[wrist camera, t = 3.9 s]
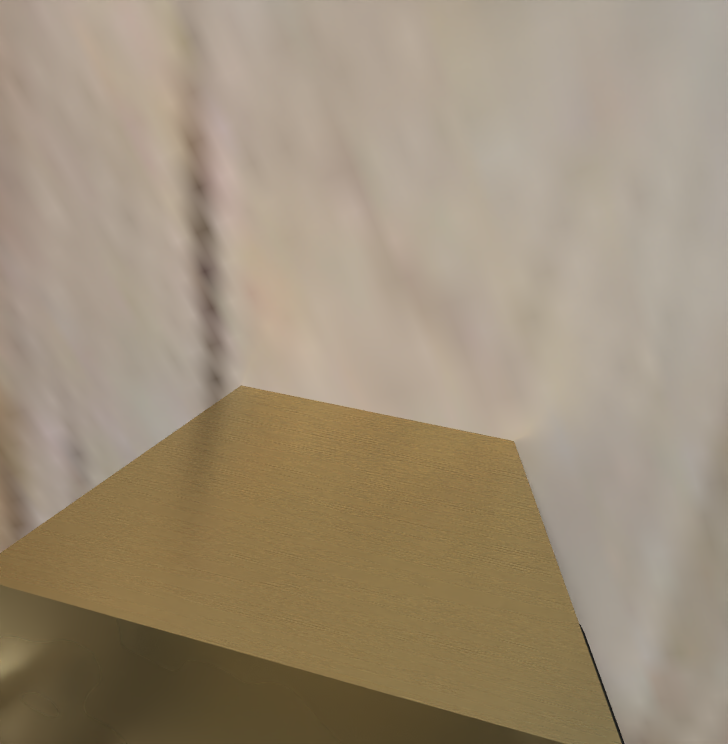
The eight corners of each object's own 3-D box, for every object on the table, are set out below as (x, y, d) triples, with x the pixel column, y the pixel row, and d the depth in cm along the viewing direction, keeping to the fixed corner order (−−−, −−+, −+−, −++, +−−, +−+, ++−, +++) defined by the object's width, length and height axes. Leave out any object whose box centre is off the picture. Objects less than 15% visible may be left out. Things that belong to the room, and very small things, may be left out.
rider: (513, 441, 9) (627, 761, 3) (454, 658, 11) (465, 1103, 5) (240, 385, 10) (-33, 575, 4) (226, 598, 12) (21, 933, 6)
